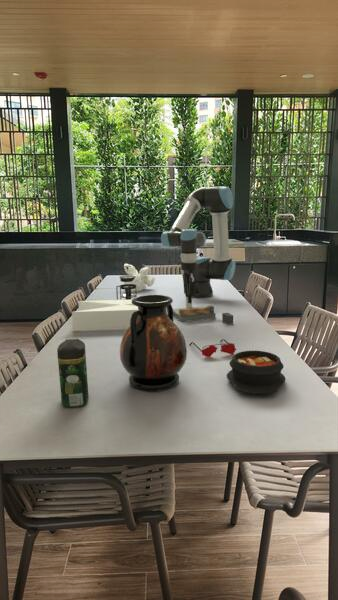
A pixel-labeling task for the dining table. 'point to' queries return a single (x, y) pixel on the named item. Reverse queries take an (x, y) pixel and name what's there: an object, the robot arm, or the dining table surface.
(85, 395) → the coffee jar
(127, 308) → the building model
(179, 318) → the stool seat
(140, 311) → the amphora vase
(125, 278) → the french press
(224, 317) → the block
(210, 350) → the glasses
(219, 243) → the robot arm
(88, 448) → the dining table surface
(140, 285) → the white lobed sculpture
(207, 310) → the hinged leg
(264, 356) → the casserole
